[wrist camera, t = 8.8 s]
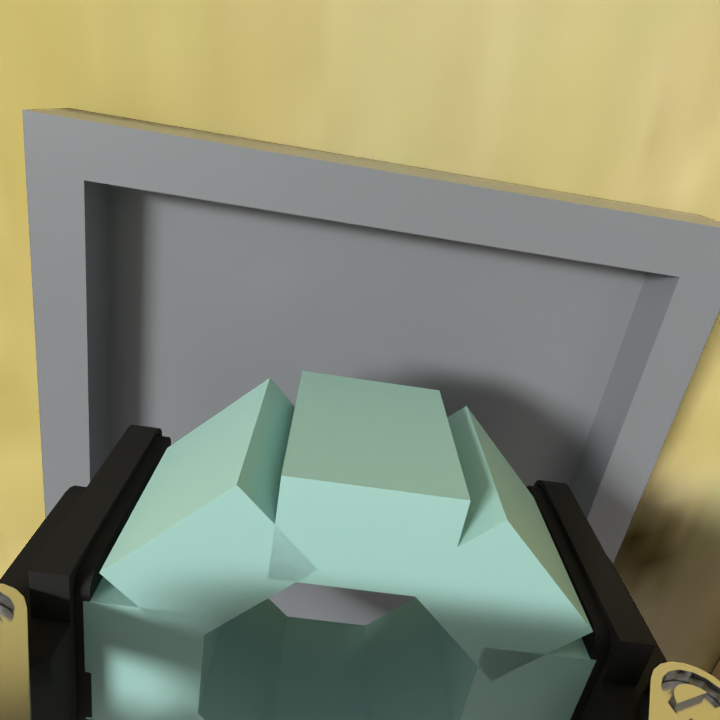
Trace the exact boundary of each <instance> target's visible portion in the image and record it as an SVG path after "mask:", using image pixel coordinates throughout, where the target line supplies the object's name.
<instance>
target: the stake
mask: <svg viewBox="0 0 720 720" xmlns="http://www.w3.org/2000/svg"><path fill="white" fill-rule="evenodd" d="M711 675H712V676H714V677H715V678H717V679H718V680H719V681H720V659H719V661H718V663H717V665H716V667H715V668H714V670H713V672H712V674H711Z"/></svg>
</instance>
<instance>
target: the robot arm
mask: <svg viewBox="0 0 720 720" xmlns="http://www.w3.org/2000/svg"><path fill="white" fill-rule="evenodd" d="M170 446H171V438H170V437H166V436H162V430H161V429H160V428H154V427H147V426H139V425H130V426H129V427H128V429H127V430H126V431H125V433H124V434H123V436H122V437H121V439H120V440H119V441H118V443H117V444H116V446H115V447H114V449H113V450H112V451H111V453H110V454H109V456H108V457H107V459H106V460H105V462H104V463H103V464H102V466H101V467H100V469H99V470H98V472H97V473H96V474H95V476H94V477H93V479H92V480H91V482H90V483H89V484H88V486H87V487H83V486H75V485H74V486H72V487H70V488H69V489H68V490H67V491H66V492H65V493H64V495H63V496H62V497H61V499H60V500H59V501H58V503H57V504H56V505H55V507H54V508H53V509H52V511H51V512H50V513H49V515H48V516H47V517H46V519H45V520H44V521H43V523H42V524H41V525H40V527H39V528H38V529H37V531H36V532H35V534H34V535H33V536H32V538H31V539H30V540H29V542H28V543H27V544H26V546H25V547H24V548H23V550H22V551H21V552H20V554H19V555H18V556H17V558H16V559H15V560H14V562H13V563H12V564H11V566H10V567H9V568H8V570H7V571H6V573H5V574H4V575H3V577H2V578H1V579H0V720H91V719H86V717H90V718H92V685H91V673H89V672H85V653H84V617H83V601H89V602H90V600H91V598H92V596H93V595H94V593H95V591H96V589H97V587H98V585H99V583H100V581H101V580H102V578H103V576H102V575H101V574H100V573H99V572H100V570H101V569H102V567H103V565H104V563H105V561H106V559H107V558H108V556H109V554H110V552H111V550H112V548H113V547H114V545H115V543H116V541H117V539H118V537H119V536H120V534H121V532H122V530H123V528H124V526H125V525H126V523H127V521H128V519H129V517H130V515H131V514H132V512H133V510H134V508H135V506H136V504H137V502H138V501H139V499H140V497H141V495H142V493H143V491H144V490H145V488H146V486H147V484H148V482H149V480H150V479H151V477H152V475H153V473H154V471H155V469H156V468H157V466H158V464H159V462H160V460H161V458H162V457H163V455H164V453H165V451H166V449H167V448H168V447H170ZM526 488H527V489H528V490H529V492H530V493H531V494H532V496H533V497H534V499H535V502H536V504H537V506H538V508H539V511H540V513H541V515H542V517H543V520H544V522H545V524H546V526H547V529H548V531H549V533H550V535H551V538H552V540H553V542H554V544H555V547H556V549H557V551H558V553H559V556H560V558H561V560H562V562H563V565H564V567H565V569H566V571H567V574H568V576H569V578H570V581H571V583H572V585H573V587H574V590H575V592H576V594H577V596H578V599H579V601H580V603H581V605H582V608H583V610H584V612H585V614H586V617H587V619H588V621H589V623H590V626H591V628H592V630H593V632H591V633H589V634H587V635H585V636H583V637H581V638H582V640H583V642H584V645H585V647H586V650H587V652H588V654H589V657H590V659H591V660H596V662H595V665H594V667H593V669H592V671H591V674H590V676H589V678H588V680H587V683H586V685H585V687H584V690H583V692H582V694H581V696H580V699H579V701H578V703H577V705H576V708H575V710H574V712H573V714H572V717H571V719H570V720H720V681H719V680H718V679H717V678H715V677H714V676H712V675H710V674H709V673H707V672H705V671H703V670H701V669H700V668H697V667H694V666H692V665H689V664H686V663H680V662H672V661H671V662H667V661H666V659H665V657H664V655H663V654H662V652H661V650H660V648H659V646H658V645H657V643H656V641H655V639H654V637H653V636H652V634H651V632H650V630H649V628H648V626H647V625H646V623H645V621H644V619H643V617H642V616H641V614H640V612H639V610H638V608H637V607H636V605H635V603H634V601H633V599H632V597H631V596H630V594H629V592H628V590H627V588H626V587H625V585H624V583H623V581H622V579H621V578H620V576H619V574H618V572H617V570H616V569H615V567H614V565H613V563H612V561H611V560H610V559H609V557H608V556H607V555H606V553H605V551H604V549H603V547H602V546H601V544H600V542H599V540H598V538H597V537H596V535H595V533H594V531H593V529H592V527H591V526H590V524H589V522H588V520H587V518H586V517H585V515H584V513H583V511H582V509H581V507H580V506H579V504H578V502H577V500H576V498H575V496H574V495H573V493H572V491H571V489H570V487H569V486H568V485H567V484H565V483H560V482H552V481H545V480H537V481H536V482H535V484H534V486H527V487H526Z"/></svg>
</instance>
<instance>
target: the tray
mask: <svg viewBox="0 0 720 720" xmlns="http://www.w3.org/2000/svg"><path fill="white" fill-rule="evenodd" d="M22 112H23V130H24V148H25V165H26V183H27V201H28V218H29V236H30V254H31V271H32V289H33V307H34V324H35V342H36V360H37V377H38V395H39V413H40V431H41V448H42V466H43V484H44V501H45V519H46V517H47V516H48V515H49V513H50V512H51V511H52V509H53V508H54V507H55V505H56V504H57V503H58V501H59V500H60V499H61V497H62V496H63V495H64V493H65V492H66V491H67V490H68V489H69V488H70V487H72V486H74V485H75V486H83V487H87V486H88V484H89V483H90V482H91V480H92V479H93V477H94V476H95V474H96V473H97V472H98V470H99V469H100V467H101V466H102V464H103V463H104V462H105V460H106V459H107V457H108V456H109V454H110V453H111V451H112V450H113V449H114V447H115V446H116V444H117V443H118V441H119V440H120V439H121V437H122V436H123V434H124V433H125V431H126V430H127V429H128V427H129V426H130V425H139V426H147V427H154V428H160V429H161V430H162V436H166V437H170V438H171V445H172V444H174V443H175V442H177V441H178V440H180V439H181V438H183V437H184V436H186V435H187V434H189V433H190V432H191V431H193V430H194V429H196V428H197V427H199V426H200V425H202V424H203V423H205V422H206V421H208V420H209V419H210V418H212V417H213V416H215V415H216V414H218V413H219V412H221V411H222V410H224V409H225V408H226V407H228V406H229V405H231V404H232V403H234V402H235V401H237V400H238V399H240V398H241V397H243V396H244V395H245V394H247V393H248V392H250V391H251V390H253V389H254V388H256V387H257V386H259V385H260V384H262V383H263V382H264V381H266V380H267V379H269V378H271V380H272V381H273V382H274V383H275V384H276V385H277V387H278V388H279V389H280V390H281V391H282V392H283V393H284V395H285V396H286V397H287V398H288V399H289V400H290V402H291V403H292V404H293V405H294V406H295V405H296V400H297V395H298V390H299V385H300V380H301V375H302V371H308V372H315V373H322V374H329V375H336V376H343V377H350V378H357V379H364V380H371V381H377V382H384V383H391V384H398V385H405V386H412V387H419V388H426V389H433V390H439V391H440V394H441V398H442V401H443V405H444V408H445V412H446V415H447V417H449V416H451V415H452V414H454V413H456V412H457V411H459V410H461V409H462V408H464V407H465V406H467V407H468V409H469V410H470V411H471V413H472V414H473V415H474V417H475V418H476V420H477V421H478V422H479V424H480V425H481V426H482V428H483V429H484V430H485V432H486V433H487V435H488V436H489V437H490V439H491V440H492V441H493V443H494V444H495V445H496V447H497V448H498V450H499V451H500V452H501V454H502V455H503V456H504V458H505V459H506V460H507V462H508V463H509V464H510V466H511V467H512V469H513V470H514V471H515V473H516V474H517V475H518V477H519V478H520V479H521V481H522V482H523V484H524V485H525V486H526V487H527V486H534V484H535V482H536V481H537V480H545V481H552V482H560V483H565V484H567V485H568V486H569V487H570V489H571V491H572V493H573V495H574V496H575V498H576V500H577V502H578V504H579V506H580V507H581V509H582V511H583V513H584V515H585V517H586V518H587V520H588V522H589V524H590V526H591V527H592V529H593V531H594V533H595V535H596V537H597V538H598V540H599V542H600V544H601V546H602V547H603V549H604V551H605V553H606V555H607V556H608V557H609V559H610V560H611V561H612V563H614V561H615V558H616V556H617V553H618V551H619V549H620V546H621V544H622V541H623V539H624V537H625V534H626V532H627V530H628V527H629V525H630V522H631V520H632V518H633V515H634V513H635V511H636V508H637V506H638V503H639V501H640V499H641V496H642V494H643V492H644V489H645V487H646V484H647V482H648V480H649V477H650V475H651V472H652V470H653V468H654V465H655V463H656V461H657V458H658V456H659V453H660V451H661V449H662V446H663V444H664V442H665V439H666V437H667V434H668V432H669V430H670V427H671V425H672V422H673V420H674V418H675V415H676V413H677V411H678V408H679V406H680V403H681V401H682V399H683V396H684V394H685V392H686V389H687V387H688V384H689V382H690V380H691V377H692V375H693V373H694V370H695V368H696V365H697V363H698V361H699V358H700V356H701V353H702V351H703V349H704V346H705V344H706V342H707V339H708V337H709V334H710V332H711V330H712V327H713V325H714V323H715V320H716V318H717V315H718V313H719V311H720V222H718V221H715V220H712V219H710V218H707V217H704V216H701V215H695V214H689V213H683V212H677V211H671V210H665V209H660V208H654V207H648V206H642V205H636V204H630V203H624V202H618V201H612V200H607V199H601V198H595V197H589V196H583V195H577V194H571V193H565V192H559V191H554V190H548V189H542V188H536V187H530V186H524V185H518V184H512V183H507V182H501V181H495V180H489V179H483V178H477V177H471V176H465V175H459V174H454V173H448V172H442V171H436V170H430V169H424V168H418V167H412V166H406V165H401V164H395V163H389V162H383V161H377V160H371V159H365V158H359V157H354V156H348V155H342V154H336V153H330V152H324V151H318V150H312V149H306V148H301V147H295V146H289V145H283V144H277V143H271V142H265V141H259V140H253V139H248V138H242V137H236V136H230V135H224V134H218V133H212V132H206V131H201V130H195V129H189V128H183V127H177V126H171V125H165V124H159V123H153V122H148V121H142V120H136V119H130V118H124V117H118V116H112V115H106V114H100V113H95V112H89V111H83V110H77V109H71V108H61V109H30V110H22ZM415 598H416V597H415V596H407V595H398V594H390V593H382V592H373V591H365V590H357V589H348V588H340V587H332V586H324V585H315V584H307V583H299V582H295V583H294V584H292V585H290V586H288V587H287V588H285V589H283V590H281V591H280V592H278V593H276V594H274V595H273V596H271V597H269V599H270V600H271V601H272V602H273V603H274V604H275V605H276V606H277V607H278V608H279V609H280V610H281V611H282V612H283V613H284V614H285V615H286V616H287V617H296V618H305V619H313V620H322V621H330V622H339V623H348V624H356V625H367V624H369V623H371V622H373V621H374V620H376V619H378V618H380V617H382V616H384V615H386V614H388V613H389V612H391V611H393V610H395V609H397V608H399V607H401V606H402V605H404V604H406V603H408V602H410V601H412V600H414V599H415Z"/></svg>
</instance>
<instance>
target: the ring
mask: <svg viewBox="0 0 720 720" xmlns="http://www.w3.org/2000/svg"><path fill="white" fill-rule="evenodd" d="M99 573H100V574H101V575H102V576H103V578H102V580H101V581H100V583H99V585H98V587H97V589H96V591H95V593H94V595H93V596H92V598H91V600H90V602H89V601H83V617H84V653H85V672H89V673H91V685H92V718H90V717H86V719H91V720H570V719H571V717H572V714H573V712H574V710H575V708H576V705H577V703H578V701H579V699H580V696H581V694H582V692H583V690H584V687H585V685H586V683H587V680H588V678H589V676H590V674H591V671H592V669H593V667H594V665H595V662H596V660H591V659H590V657H589V654H588V652H587V650H586V647H585V645H584V642H583V640H582V638H581V637H583V636H585V635H587V634H589V633H591V632H593V630H592V628H591V626H590V623H589V621H588V619H587V617H586V614H585V612H584V610H583V608H582V605H581V603H580V601H579V599H578V596H577V594H576V592H575V590H574V587H573V585H572V583H571V581H570V578H569V576H568V574H567V571H566V569H565V567H564V565H563V562H562V560H561V558H560V556H559V553H558V551H557V549H556V547H555V544H554V542H553V540H552V538H551V535H550V533H549V531H548V529H547V526H546V524H545V522H544V520H543V517H542V515H541V513H540V511H539V508H538V506H537V504H536V502H535V499H534V497H533V496H532V494H531V493H530V492H529V490H528V489H527V488H526V486H525V485H524V484H523V482H522V481H521V479H520V478H519V477H518V475H517V474H516V473H515V471H514V470H513V469H512V467H511V466H510V464H509V463H508V462H507V460H506V459H505V458H504V456H503V455H502V454H501V452H500V451H499V450H498V448H497V447H496V445H495V444H494V443H493V441H492V440H491V439H490V437H489V436H488V435H487V433H486V432H485V430H484V429H483V428H482V426H481V425H480V424H479V422H478V421H477V420H476V418H475V417H474V415H473V414H472V413H471V411H470V410H469V409H468V407H467V406H465V407H464V408H462V409H461V410H459V411H457V412H456V413H454V414H452V415H451V416H449V417H447V415H446V412H445V408H444V405H443V401H442V398H441V394H440V391H439V390H433V389H426V388H419V387H412V386H405V385H398V384H391V383H384V382H377V381H371V380H364V379H357V378H350V377H343V376H336V375H329V374H322V373H315V372H308V371H302V375H301V380H300V385H299V390H298V395H297V400H296V405H295V406H294V405H293V404H292V403H291V402H290V400H289V399H288V398H287V397H286V396H285V395H284V393H283V392H282V391H281V390H280V389H279V388H278V387H277V385H276V384H275V383H274V382H273V381H272V380H271V378H269V379H267V380H266V381H264V382H263V383H262V384H260V385H259V386H257V387H256V388H254V389H253V390H251V391H250V392H248V393H247V394H245V395H244V396H243V397H241V398H240V399H238V400H237V401H235V402H234V403H232V404H231V405H229V406H228V407H226V408H225V409H224V410H222V411H221V412H219V413H218V414H216V415H215V416H213V417H212V418H210V419H209V420H208V421H206V422H205V423H203V424H202V425H200V426H199V427H197V428H196V429H194V430H193V431H191V432H190V433H189V434H187V435H186V436H184V437H183V438H181V439H180V440H178V441H177V442H175V443H174V444H172V445H171V446H170V447H168V448H167V449H166V451H165V453H164V455H163V457H162V458H161V460H160V462H159V464H158V466H157V468H156V469H155V471H154V473H153V475H152V477H151V479H150V480H149V482H148V484H147V486H146V488H145V490H144V491H143V493H142V495H141V497H140V499H139V501H138V502H137V504H136V506H135V508H134V510H133V512H132V514H131V515H130V517H129V519H128V521H127V523H126V525H125V526H124V528H123V530H122V532H121V534H120V536H119V537H118V539H117V541H116V543H115V545H114V547H113V548H112V550H111V552H110V554H109V556H108V558H107V559H106V561H105V563H104V565H103V567H102V569H101V570H100V572H99ZM295 582H299V583H307V584H315V585H324V586H332V587H340V588H348V589H357V590H365V591H373V592H382V593H390V594H398V595H407V596H415V597H416V598H415V599H414V600H412V601H410V602H408V603H406V604H404V605H402V606H401V607H399V608H397V609H395V610H393V611H391V612H389V613H388V614H386V615H384V616H382V617H380V618H378V619H376V620H374V621H373V622H371V623H369V624H367V625H356V624H348V623H339V622H330V621H322V620H313V619H305V618H296V617H287V616H286V615H285V614H284V613H283V612H282V611H281V610H280V609H279V608H278V607H277V606H276V605H275V604H274V603H273V602H272V601H271V600H270V599H269V597H271V596H273V595H274V594H276V593H278V592H280V591H281V590H283V589H285V588H287V587H288V586H290V585H292V584H294V583H295Z"/></svg>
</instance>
